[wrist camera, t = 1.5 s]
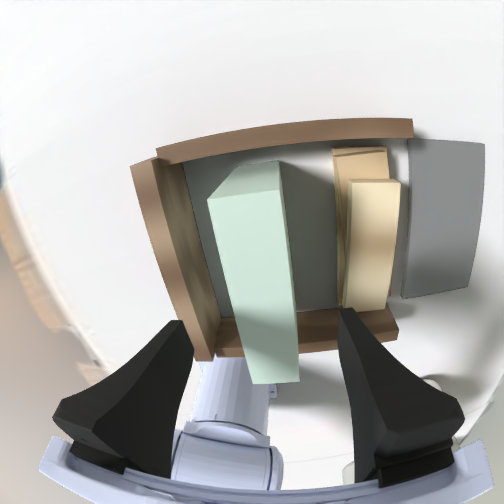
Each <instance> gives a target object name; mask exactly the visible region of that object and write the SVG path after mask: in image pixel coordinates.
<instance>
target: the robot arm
mask: <svg viewBox="0 0 504 504" xmlns="http://www.w3.org/2000/svg"><path fill="white" fill-rule="evenodd" d="M337 343H338V350H339V358H340V363H341V367H342V371H343V375H344V380H345V384H346V388H347V392H348V396H349V401H350V407H351V416H352V426H353V440H354V484H349V485H342V486H335V487H326V488H315V489H301V490H280V489H281V485H282V480H283V468H284V467H283V457H282V455H281V453H280V452H279V451H278V449H277V448H276V447H274V446H270V436H267V424H268V409H269V399H272V398H277V396H278V393H277V388H276V383H271V384H253V382H252V379H251V375H250V372H249V368H248V365H247V361H246V357H228V358H217V356H216V354H215V356H214V360H213V362H200V361H197V362H198V364H199V366H200V368H201V371H202V376H201V380H200V383H199V387H198V391H197V394H196V398H195V401H194V405H193V409H192V412H191V416H190V420H189V421H186V423H185V426H184V430H180V429H175V425H176V419H177V414H178V409H179V405H180V402H181V399H182V396H183V393H184V390H185V387H186V384H187V380H188V377H189V374H190V371H191V368H192V362H193V357H194V350H195V349H194V347H193V344H192V342H191V340H190V337H189V335H188V333H187V330H186V328H185V325H184V323H183V320H171V321H170V322H169V323H168V324H167V325H165V326H164V327H163V328H162V329H161V330H160V332H159V333H158V334H157V335H156V336H155V337H154V338H153V339H152V340H151V341H150V342H149V343H148V344H147V345H146V346H145V347H144V348H143V349H141V350H140V351H139V352H138V353H137V354H136V355H135V356H134V357H133V358H132V359H130V360H129V361H128V362H127V363H126V364H125V365H123V366H122V367H121V368H119V369H118V370H117V371H115V372H114V373H113V374H111V375H110V376H108V377H107V378H105V379H103V380H102V381H100V382H99V383H97V384H95V385H93V386H92V387H90V388H88V389H86V390H84V391H82V392H79V393H77V394H75V395H72V396H70V397H67V398H64V399H62V400H61V402H60V404H59V406H58V408H57V410H56V411H55V413H54V415H53V417H52V418H53V421H54V422H55V423H56V425H57V426H58V427H60V428H61V429H62V430H63V431H64V432H65V433H66V434H68V435H69V436H70V437H71V438H72V439H73V440H74V442H73V444H71V443H70V442H68V441H66V440H64V439H62V438H60V437H57V436H55V435H53V437H52V439H51V441H50V443H49V445H48V447H47V449H46V451H45V453H44V455H43V457H42V460H41V462H40V464H39V466H38V471H40V472H42V473H43V474H44V475H46V476H47V477H49V478H51V479H52V480H54V481H56V482H57V483H59V484H61V485H62V486H64V487H66V488H67V489H69V490H71V491H72V492H74V493H76V494H78V495H80V496H82V497H84V498H86V499H88V500H90V501H92V502H94V503H96V504H463V503H465V502H467V501H469V500H471V499H473V498H475V497H477V496H479V495H481V494H482V493H484V492H486V491H488V490H490V489H491V488H493V487H494V483H493V478H492V474H491V470H490V466H489V463H488V459H487V455H486V451H485V448H484V445H483V442H482V439H479V440H477V441H475V442H473V443H471V444H468V445H466V446H464V447H462V448H460V449H458V450H456V451H454V452H453V453H452V449H451V447H452V446H453V440H452V436H453V435H454V434H455V433H456V432H457V431H458V430H459V429H460V427H461V426H462V425H463V423H464V420H465V417H464V414H463V411H462V409H461V406H460V405H459V403H458V401H457V399H456V398H454V397H452V396H450V395H448V394H446V393H444V392H442V391H440V390H438V389H436V388H435V387H433V386H431V385H430V384H428V383H426V382H425V381H424V380H422V379H421V378H419V377H418V376H416V375H415V374H414V373H412V372H411V371H410V370H408V369H407V368H406V367H405V366H404V365H402V364H401V363H400V362H399V361H398V360H397V359H396V358H395V357H394V356H393V355H392V354H391V353H390V352H389V351H388V350H387V349H386V348H385V347H384V346H383V345H382V344H381V343H380V342H379V341H378V340H377V338H376V337H375V336H374V335H373V334H372V332H371V331H370V330H369V329H368V327H367V326H366V325H365V324H364V322H363V321H362V320H361V318H360V317H359V315H358V314H357V313H356V311H355V310H354V308H352V307H350V308H342V309H339V312H338V337H337ZM152 490H153V491H152ZM155 491H157V492H155Z"/></svg>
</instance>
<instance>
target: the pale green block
mask: <svg viewBox="0 0 504 504" xmlns="http://www.w3.org/2000/svg"><path fill="white" fill-rule="evenodd" d="M207 203H208V207H209V212H210V216H211V221H212V225H213V230H214V234H215V238H216V243H217V247H218V251H219V255H220V260H221V264H222V268H223V272H224V276H225V280H226V284H227V288H228V292H229V296H230V300H231V304H232V308H233V312H234V316H235V320H236V324H237V327H238V331H239V335H240V339H241V343H242V346H243V350H244V354H245V357H246V361H247V365H248V368H249V372H250V375H251V379H252V382H253V384H271V383H289V382H300V377H299V353H298V333H297V316H296V300H295V290H294V280H293V270H292V261H291V252H290V243H289V235H288V226H287V218H286V210H285V203H284V195H283V188H282V180H281V173H280V166H279V160H277V161H270V162H262V163H255V164H248V165H242V166H237V167H236V168H235V169H234V170H233V171H232V172H231V173H230V174H229V176H228V177H227V178H226V179H225V180H224V181H223V182H222V183H221V184H220V186H219V187H218V188H217V189H216V190H215V191H214V192H213V193H212V195H211V196H210V197H209V198H208V199H207Z"/></svg>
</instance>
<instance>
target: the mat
mask: <svg viewBox="0 0 504 504" xmlns="http://www.w3.org/2000/svg"><path fill="white" fill-rule="evenodd" d="M408 156H409V216H408V234H407V246H406V257H405V266H404V274H403V282H402V289H401V297H402V299H408V298H414V297H419V296H425V295H430V294H435V293H440V292H445V291H450V290H455V289H459V288H464V287H468V283H469V279H470V275H471V270H472V266H473V261H474V257H475V252H476V246H477V241H478V235H479V228H480V221H481V213H482V203H483V192H484V173H485V144H482V143H473V142H462V141H448V140H427V139H408Z"/></svg>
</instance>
